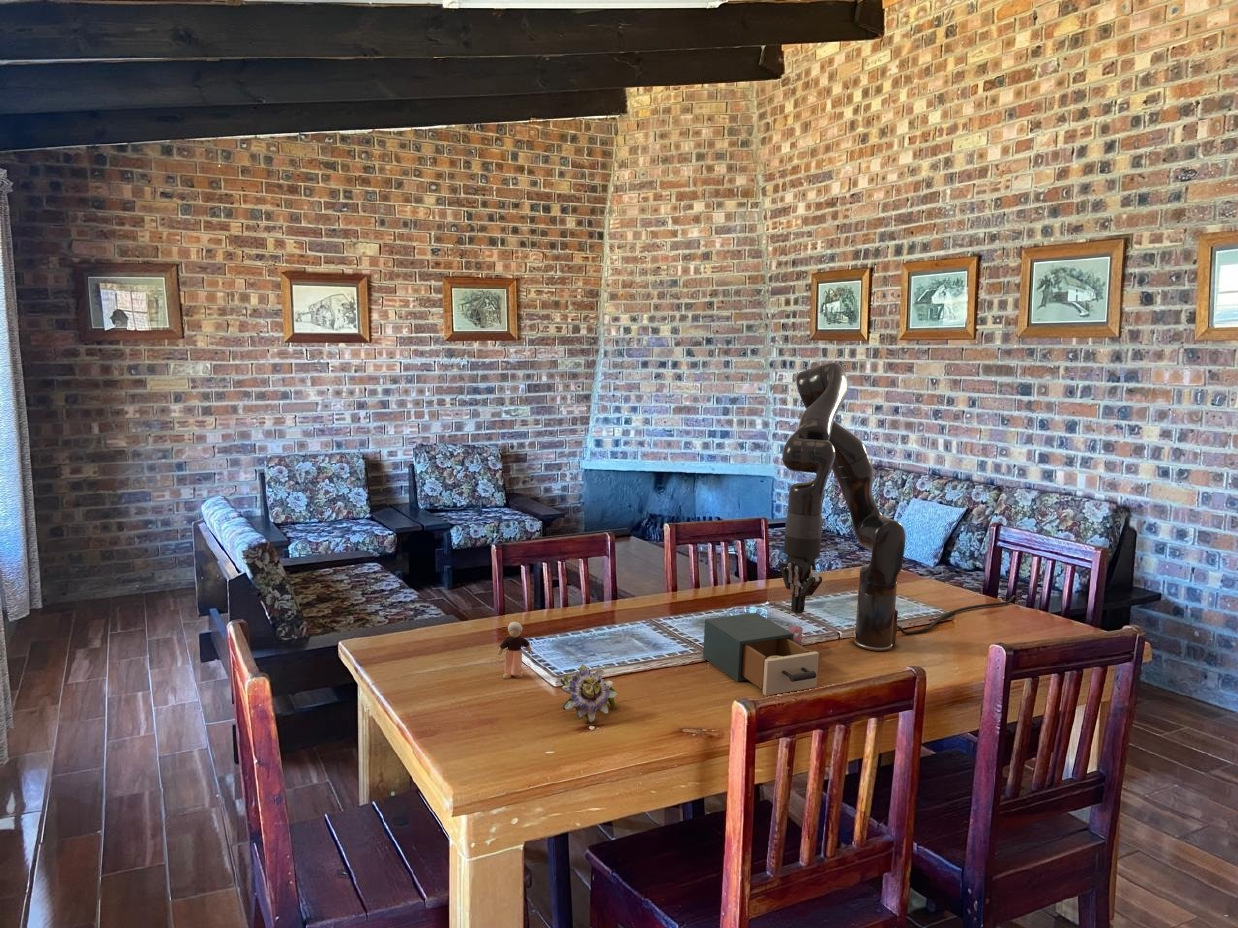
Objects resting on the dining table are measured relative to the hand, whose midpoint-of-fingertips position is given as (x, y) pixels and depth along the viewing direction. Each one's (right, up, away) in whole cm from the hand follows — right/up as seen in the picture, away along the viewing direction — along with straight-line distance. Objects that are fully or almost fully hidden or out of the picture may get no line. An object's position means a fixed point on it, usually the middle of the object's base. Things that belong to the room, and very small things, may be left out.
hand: (797, 612), depth 187 cm
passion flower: (-45, -20, -7) cm, 49 cm away
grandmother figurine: (-61, -16, +10) cm, 64 cm away
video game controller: (+5, -15, +32) cm, 35 cm away
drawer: (-3, -17, +9) cm, 19 cm away
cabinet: (-8, -16, +21) cm, 27 cm away
